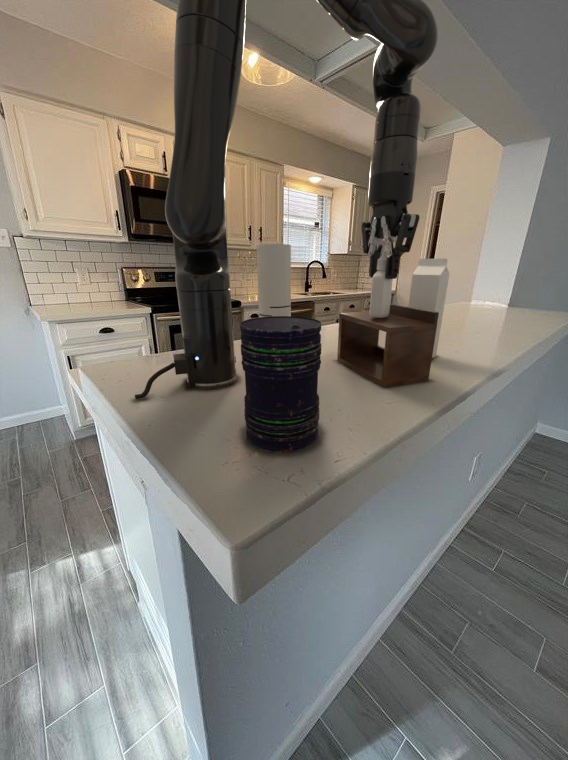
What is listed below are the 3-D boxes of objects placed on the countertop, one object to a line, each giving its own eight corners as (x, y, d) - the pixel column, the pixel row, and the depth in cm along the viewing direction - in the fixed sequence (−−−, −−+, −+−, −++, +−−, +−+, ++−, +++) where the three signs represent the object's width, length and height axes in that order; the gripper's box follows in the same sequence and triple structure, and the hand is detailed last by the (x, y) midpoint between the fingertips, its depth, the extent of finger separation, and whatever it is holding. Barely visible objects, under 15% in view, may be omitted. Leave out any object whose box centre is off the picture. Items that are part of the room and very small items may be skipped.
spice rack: (384, 387, 59) (392, 315, 54) (337, 360, 75) (339, 303, 70) (428, 380, 62) (439, 312, 57) (373, 356, 78) (378, 301, 73)
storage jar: (232, 428, 45) (224, 321, 40) (289, 410, 50) (289, 313, 45) (271, 463, 37) (268, 335, 32) (334, 437, 42) (340, 324, 37)
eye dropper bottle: (397, 316, 63) (405, 250, 59) (376, 318, 61) (382, 250, 57) (381, 313, 67) (387, 251, 63) (360, 315, 65) (365, 251, 60)
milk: (427, 361, 73) (443, 258, 66) (401, 356, 77) (413, 258, 69) (436, 356, 78) (452, 258, 70) (411, 351, 81) (424, 258, 74)
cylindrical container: (290, 364, 72) (290, 244, 64) (259, 364, 73) (254, 244, 64) (290, 355, 79) (290, 245, 70) (261, 355, 79) (258, 245, 71)
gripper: (351, 182, 61) (346, 277, 67) (401, 160, 48) (389, 280, 54) (385, 184, 63) (377, 276, 69) (441, 165, 50) (425, 279, 56)
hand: (382, 277), depth 61 cm, fingers closed on eye dropper bottle, 4 cm apart
